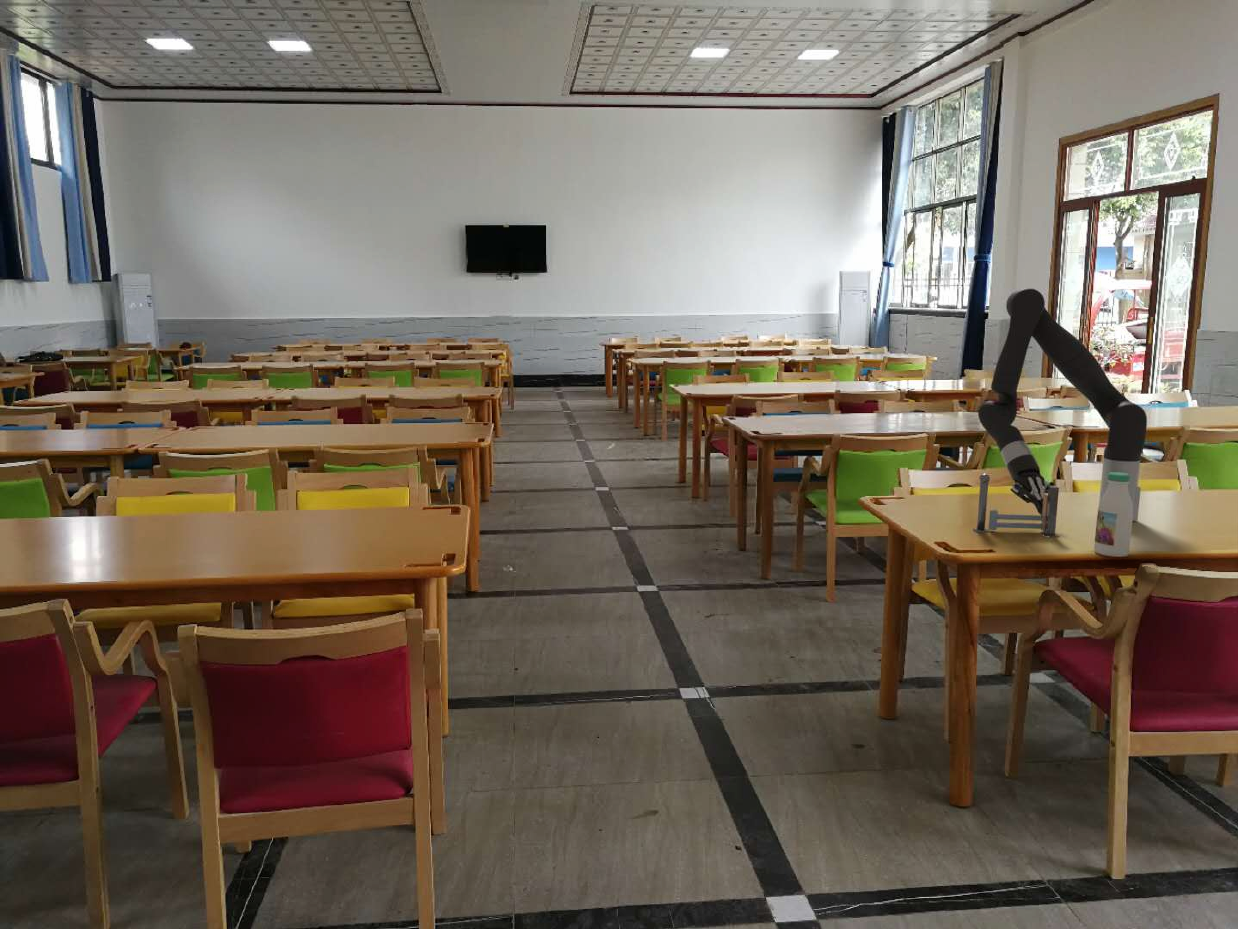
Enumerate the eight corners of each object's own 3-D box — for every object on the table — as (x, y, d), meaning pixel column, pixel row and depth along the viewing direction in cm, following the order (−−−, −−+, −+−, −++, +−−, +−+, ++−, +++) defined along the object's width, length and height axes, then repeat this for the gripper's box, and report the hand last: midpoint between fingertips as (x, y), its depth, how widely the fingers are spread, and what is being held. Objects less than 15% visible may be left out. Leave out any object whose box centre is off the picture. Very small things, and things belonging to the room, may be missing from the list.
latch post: (1039, 532, 253) (1043, 485, 251) (1054, 533, 253) (1058, 485, 250) (1044, 536, 249) (1048, 488, 247) (1060, 537, 249) (1064, 488, 246)
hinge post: (985, 529, 257) (989, 472, 254) (990, 532, 253) (995, 475, 250) (970, 529, 257) (974, 472, 254) (975, 532, 253) (980, 475, 250)
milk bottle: (1121, 550, 236) (1129, 470, 233) (1134, 558, 229) (1142, 476, 225) (1088, 549, 237) (1096, 470, 234) (1101, 557, 230) (1109, 476, 226)
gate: (990, 530, 253) (993, 493, 252) (988, 528, 256) (990, 491, 254) (1053, 532, 252) (1056, 495, 250) (1050, 530, 254) (1053, 493, 252)
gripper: (1006, 454, 259) (1032, 508, 250) (1047, 452, 262) (1074, 505, 253) (992, 469, 265) (1017, 522, 256) (1033, 467, 268) (1059, 520, 259)
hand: (1045, 514), depth 254 cm, fingers closed
